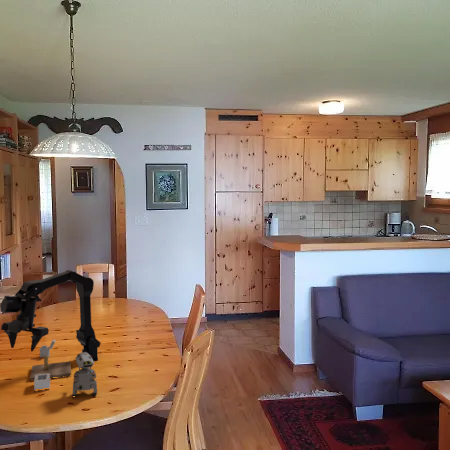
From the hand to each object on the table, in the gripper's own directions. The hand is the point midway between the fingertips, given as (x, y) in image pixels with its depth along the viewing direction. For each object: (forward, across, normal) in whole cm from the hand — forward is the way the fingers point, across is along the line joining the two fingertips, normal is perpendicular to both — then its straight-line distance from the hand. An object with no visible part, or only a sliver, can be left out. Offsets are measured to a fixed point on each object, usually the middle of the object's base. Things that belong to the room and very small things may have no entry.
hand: (22, 349), depth 181 cm
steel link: (+13, +13, -2) cm, 18 cm away
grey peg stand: (+11, +8, +12) cm, 18 cm away
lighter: (+10, -5, +28) cm, 30 cm away
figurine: (+11, +32, -3) cm, 34 cm away
